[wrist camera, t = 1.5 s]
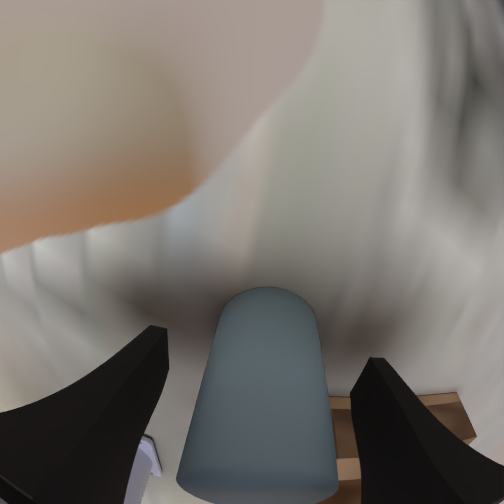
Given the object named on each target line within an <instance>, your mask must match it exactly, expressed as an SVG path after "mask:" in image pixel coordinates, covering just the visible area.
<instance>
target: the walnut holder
mask: <svg viewBox="0 0 504 504" xmlns="http://www.w3.org/2000/svg"><path fill="white" fill-rule="evenodd" d="M417 397H418V398H419V400H420V401H421V402H422V403H423V404H424V405H425V406H426V407H427V408H428V410H429V411H430V412H431V413H432V414H433V415H434V416H435V417H436V418H437V419H438V420H439V421H440V422H441V423H442V424H443V425H444V426H445V427H447V428H448V429H449V430H450V431H451V432H452V433H453V434H454V435H456V436H457V437H458V438H459V439H461V440H462V441H463V442H464V443H466V444H467V445H469V444H470V443H471V442H472V441H473V440H474V439H475V438H476V437H477V436H476V433H475V431H474V429H473V426H472V424H471V422H470V420H469V417H468V415H467V413H466V411H465V409H464V407H463V404H462V402H461V400H460V398H459V396H458V394H457V392H456V393H447V394H438V395H426V396H417ZM329 403H330V410H331V418H332V425H333V433H334V441H335V450H336V459H337V469H338V479H339V489H338V490H337V492H336V493H335V494H334V495H332V496H331V497H329V498H327V499H325V500H323V501H320V502H318V503H315V504H361V470H360V462H359V456H358V450H357V445H356V439H355V434H354V428H353V423H352V417H351V401H350V398H348V397H329Z"/></svg>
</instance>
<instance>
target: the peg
mask: <svg viewBox="0 0 504 504" xmlns="http://www.w3.org/2000/svg"><path fill="white" fill-rule="evenodd" d="M176 481H177V483H178V484H179V486H180V487H181V488H182V489H184V490H185V491H187V492H188V493H190V494H192V495H193V496H196V497H198V498H200V499H203V500H205V501H208V502H211V503H215V504H315V503H318V502H320V501H323V500H325V499H327V498H329V497H331V496H332V495H334V494H335V493H336V492H337V490H338V489H339V479H338V469H337V459H336V450H335V441H334V433H333V425H332V418H331V410H330V403H329V396H328V389H327V382H326V376H325V370H324V363H323V357H322V351H321V345H320V339H319V334H318V328H317V322H316V318H315V315H314V312H313V310H312V309H311V307H310V306H309V305H308V303H307V302H306V301H305V300H303V299H302V298H301V297H299V296H298V295H296V294H294V293H292V292H290V291H287V290H284V289H280V288H273V287H261V288H255V289H251V290H247V291H245V292H242V293H240V294H238V295H237V296H235V297H234V298H232V299H231V300H230V301H229V302H228V303H227V305H226V306H225V307H224V309H223V311H222V313H221V316H220V319H219V322H218V326H217V329H216V333H215V336H214V340H213V344H212V347H211V351H210V354H209V358H208V361H207V365H206V369H205V372H204V376H203V379H202V383H201V387H200V390H199V394H198V398H197V401H196V405H195V409H194V412H193V416H192V420H191V424H190V427H189V431H188V435H187V438H186V442H185V446H184V450H183V454H182V457H181V461H180V465H179V469H178V473H177V476H176Z"/></svg>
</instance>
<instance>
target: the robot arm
mask: <svg viewBox="0 0 504 504" xmlns="http://www.w3.org/2000/svg"><path fill="white" fill-rule="evenodd" d="M168 371H169V356H168V337H167V329H166V328H161V327H157V326H153V325H150V326H149V327H147V328H146V329H145V330H144V331H143V332H141V333H140V334H139V335H138V336H137V337H136V338H134V339H133V340H132V341H131V342H130V343H128V344H127V345H126V346H125V347H124V348H122V349H121V350H120V351H119V352H117V353H116V354H115V355H114V356H112V357H111V358H110V359H108V360H107V361H106V362H104V363H103V364H102V365H100V366H99V367H97V368H96V369H95V370H93V371H92V372H90V373H89V374H87V375H86V376H84V377H83V378H81V379H80V380H78V381H76V382H75V383H73V384H71V385H69V386H68V387H66V388H64V389H62V390H60V391H58V392H56V393H54V394H52V395H50V396H48V397H45V398H43V399H41V400H39V401H36V402H34V403H31V404H28V405H25V406H22V407H19V408H16V409H13V410H9V411H6V412H1V413H0V504H140V503H141V500H142V497H143V494H144V490H145V487H146V484H147V481H148V478H149V475H150V474H151V475H154V476H158V477H161V476H162V471H161V467H160V464H159V461H158V458H157V454H156V451H155V448H154V444H153V442H152V440H151V439H149V438H147V437H143V434H144V432H145V429H146V427H147V425H148V423H149V420H150V418H151V416H152V414H153V412H154V409H155V407H156V405H157V402H158V400H159V398H160V396H161V393H162V391H163V388H164V384H165V381H166V378H167V374H168ZM350 401H351V417H352V423H353V428H354V434H355V439H356V445H357V450H358V456H359V462H360V470H361V504H499V503H500V502H502V501H503V500H504V466H503V465H500V464H498V463H496V462H494V461H492V460H491V459H489V458H487V457H485V456H484V455H482V454H480V453H479V452H477V451H476V450H474V449H473V448H471V447H470V446H469V445H467V444H466V443H464V442H463V441H462V440H461V439H459V438H458V437H457V436H456V435H454V434H453V433H452V432H451V431H450V430H449V429H448V428H447V427H445V426H444V425H443V424H442V423H441V422H440V421H439V420H438V419H437V418H436V417H435V416H434V415H433V414H432V413H431V412H430V411H429V410H428V408H427V407H426V406H425V405H424V404H423V403H422V402H421V401H420V400H419V398H418V397H417V396H416V395H415V394H414V393H413V391H412V390H411V389H410V388H409V387H408V385H407V384H406V383H405V382H404V381H403V379H402V378H401V377H400V376H399V375H398V373H397V372H396V371H395V370H394V369H393V367H392V366H391V365H390V364H389V363H388V362H387V361H386V360H385V359H384V358H373V357H370V358H369V360H368V362H367V363H366V365H365V367H364V369H363V371H362V373H361V375H360V376H359V378H358V380H357V382H356V384H355V385H354V387H353V389H352V391H351V392H350Z"/></svg>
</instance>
